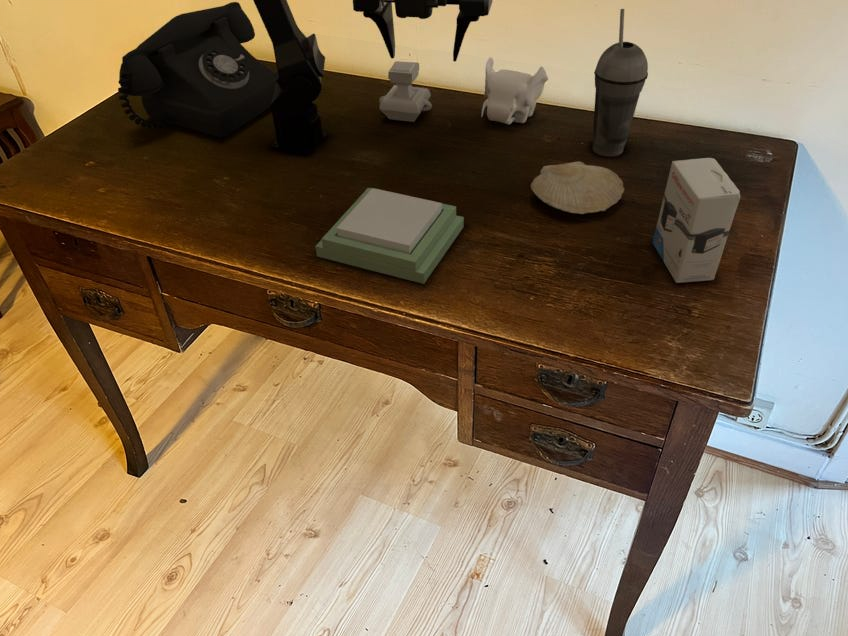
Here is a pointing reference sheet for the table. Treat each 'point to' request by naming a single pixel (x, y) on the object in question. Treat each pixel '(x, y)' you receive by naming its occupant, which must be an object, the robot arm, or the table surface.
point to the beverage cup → (617, 93)
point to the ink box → (695, 219)
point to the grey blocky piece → (404, 93)
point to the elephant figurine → (511, 93)
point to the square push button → (390, 220)
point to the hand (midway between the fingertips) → (423, 58)
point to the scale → (392, 261)
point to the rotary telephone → (198, 73)
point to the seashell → (578, 187)
